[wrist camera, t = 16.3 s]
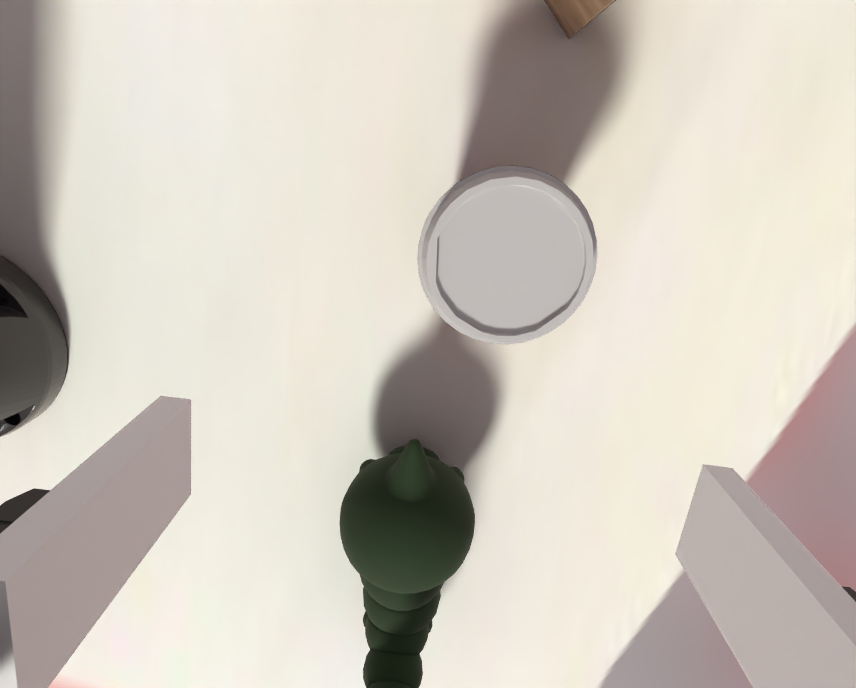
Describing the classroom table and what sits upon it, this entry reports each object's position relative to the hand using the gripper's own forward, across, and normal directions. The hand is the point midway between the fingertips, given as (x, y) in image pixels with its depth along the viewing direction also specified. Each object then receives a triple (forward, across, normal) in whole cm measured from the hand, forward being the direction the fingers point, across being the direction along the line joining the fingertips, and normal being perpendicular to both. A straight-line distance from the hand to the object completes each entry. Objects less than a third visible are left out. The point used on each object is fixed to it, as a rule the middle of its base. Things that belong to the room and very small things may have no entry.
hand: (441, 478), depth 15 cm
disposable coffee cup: (+29, +3, +3) cm, 29 cm away
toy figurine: (+29, 0, -22) cm, 36 cm away
